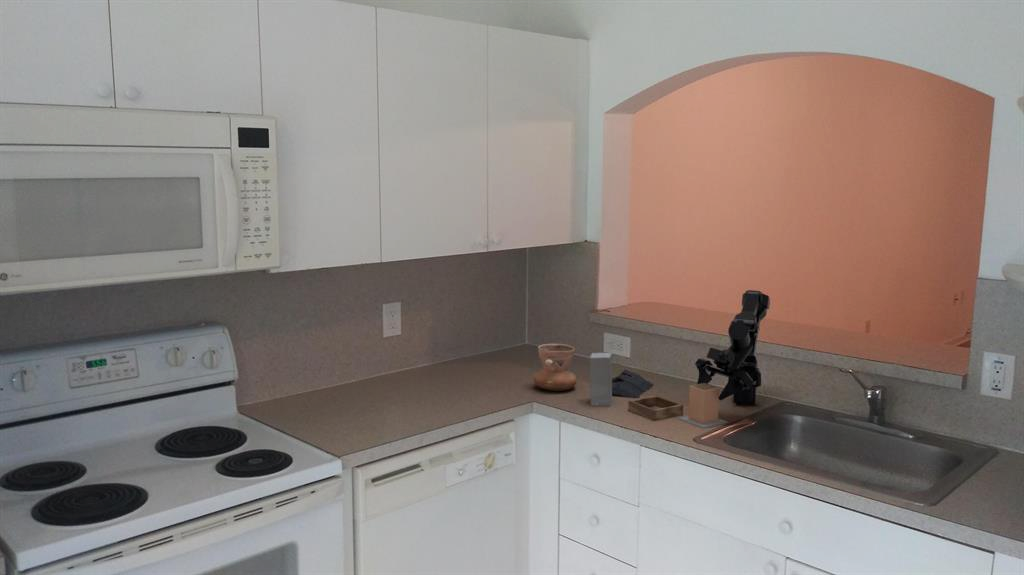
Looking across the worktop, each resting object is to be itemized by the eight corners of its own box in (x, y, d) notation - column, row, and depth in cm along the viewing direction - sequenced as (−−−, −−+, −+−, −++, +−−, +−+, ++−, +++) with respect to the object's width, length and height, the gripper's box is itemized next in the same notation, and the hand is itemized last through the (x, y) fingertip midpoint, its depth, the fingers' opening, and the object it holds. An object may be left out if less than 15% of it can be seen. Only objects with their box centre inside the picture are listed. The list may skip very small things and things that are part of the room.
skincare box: (610, 407, 249) (612, 358, 247) (587, 406, 250) (589, 356, 248) (612, 400, 257) (614, 352, 255) (590, 398, 259) (591, 350, 256)
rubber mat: (702, 415, 243) (702, 412, 242) (727, 424, 234) (727, 421, 234) (678, 420, 237) (678, 417, 237) (703, 429, 229) (703, 427, 229)
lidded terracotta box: (702, 415, 240) (704, 382, 238) (717, 420, 235) (719, 387, 233) (688, 418, 237) (689, 385, 235) (703, 424, 232) (704, 390, 230)
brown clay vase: (567, 397, 260) (569, 354, 258) (525, 391, 265) (527, 349, 263) (583, 384, 277) (585, 344, 275) (544, 379, 282) (545, 339, 280)
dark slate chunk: (594, 396, 263) (595, 382, 262) (612, 380, 283) (612, 367, 282) (640, 402, 257) (641, 387, 256) (655, 385, 277) (655, 372, 276)
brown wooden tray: (656, 406, 251) (656, 395, 251) (682, 416, 242) (683, 404, 241) (628, 411, 245) (628, 400, 244) (654, 422, 235) (654, 410, 235)
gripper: (700, 332, 244) (672, 372, 240) (748, 344, 228) (718, 387, 224) (717, 354, 249) (690, 393, 245) (765, 367, 233) (736, 409, 229)
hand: (707, 395), depth 236 cm, fingers open, 9 cm apart
